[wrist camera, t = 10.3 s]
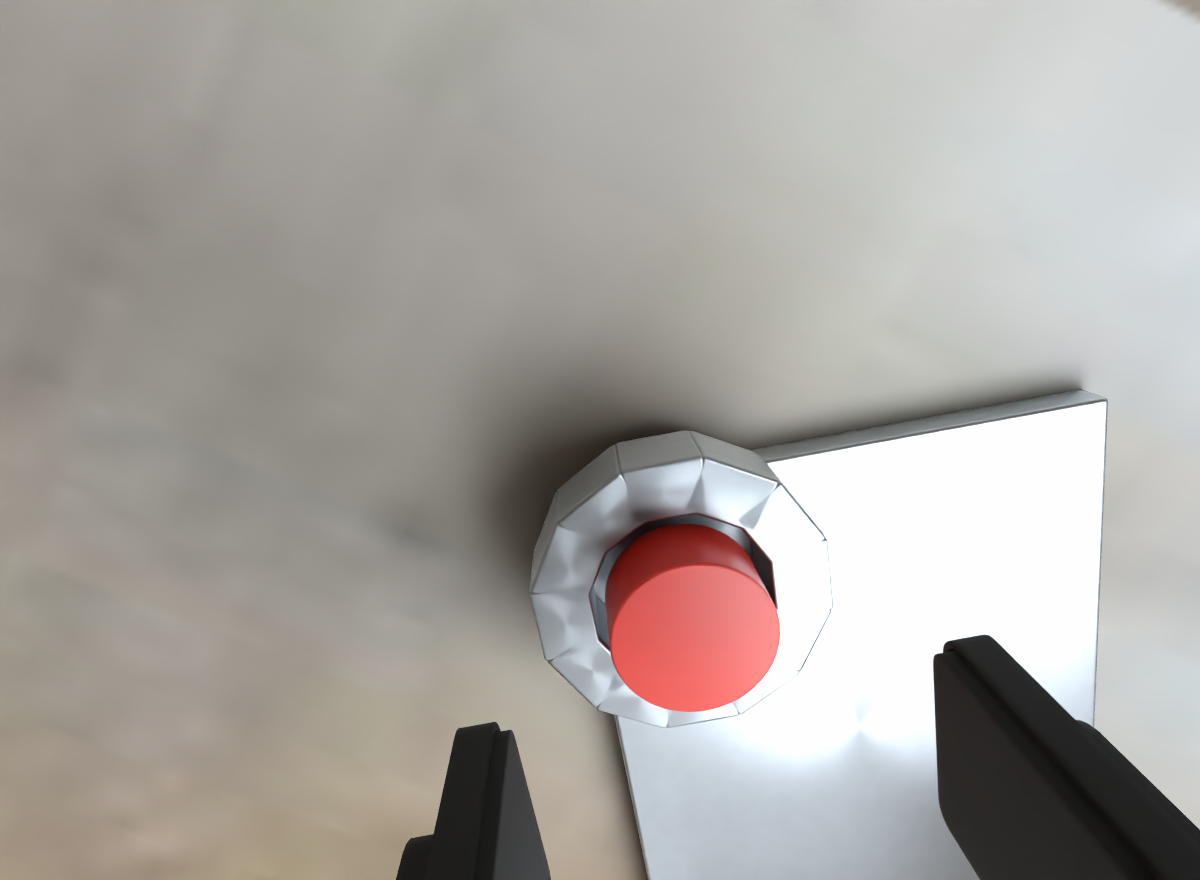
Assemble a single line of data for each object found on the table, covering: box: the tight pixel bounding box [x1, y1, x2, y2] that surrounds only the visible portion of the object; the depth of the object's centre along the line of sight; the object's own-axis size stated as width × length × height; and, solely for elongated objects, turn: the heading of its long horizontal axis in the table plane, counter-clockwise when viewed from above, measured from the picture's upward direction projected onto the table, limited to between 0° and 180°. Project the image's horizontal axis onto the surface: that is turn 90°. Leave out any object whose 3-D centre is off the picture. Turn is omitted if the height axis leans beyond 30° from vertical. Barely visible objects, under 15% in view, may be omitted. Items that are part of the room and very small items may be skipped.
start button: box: [605, 524, 780, 712], centre depth 14 cm, size 3×3×2 cm
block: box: [530, 390, 1108, 880], centre depth 18 cm, size 16×13×4 cm
